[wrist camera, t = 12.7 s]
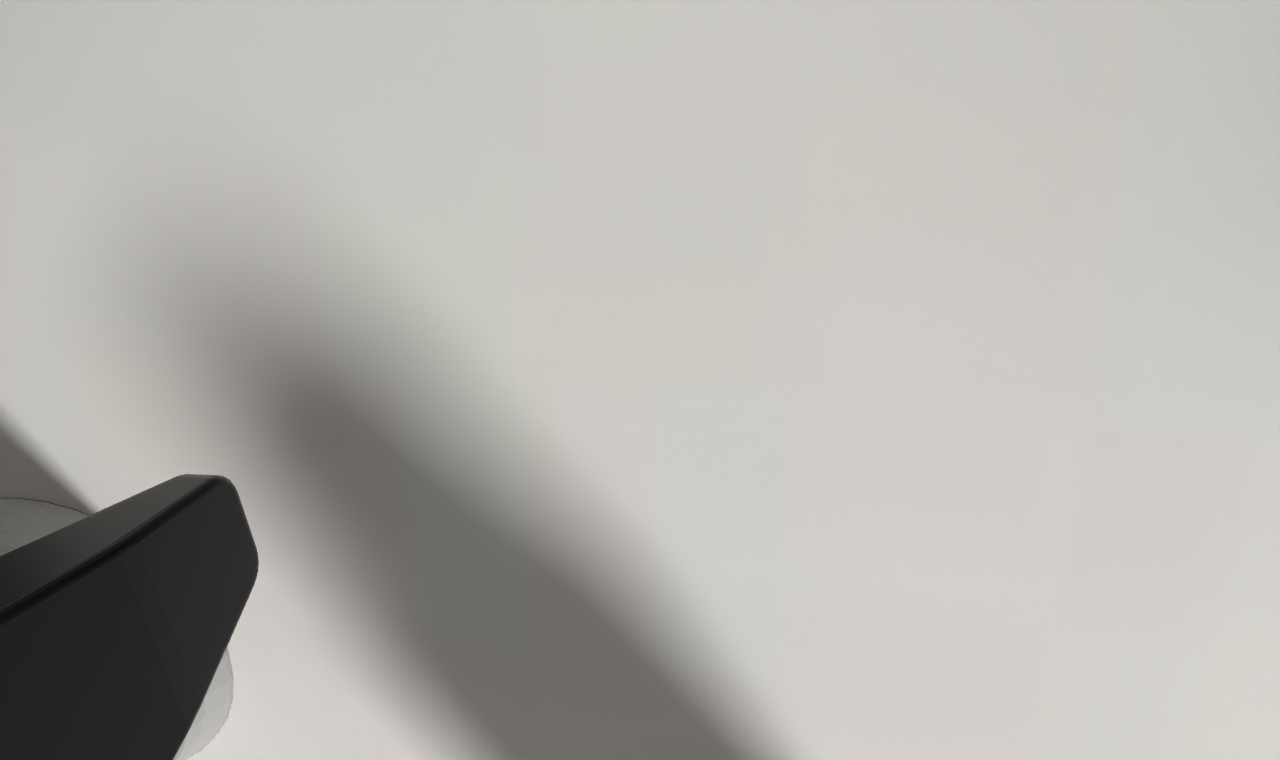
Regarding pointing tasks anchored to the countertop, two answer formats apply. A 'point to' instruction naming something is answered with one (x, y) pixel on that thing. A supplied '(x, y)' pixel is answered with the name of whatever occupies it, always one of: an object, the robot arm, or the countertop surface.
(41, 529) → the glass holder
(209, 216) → the countertop surface
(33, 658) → the robot arm
